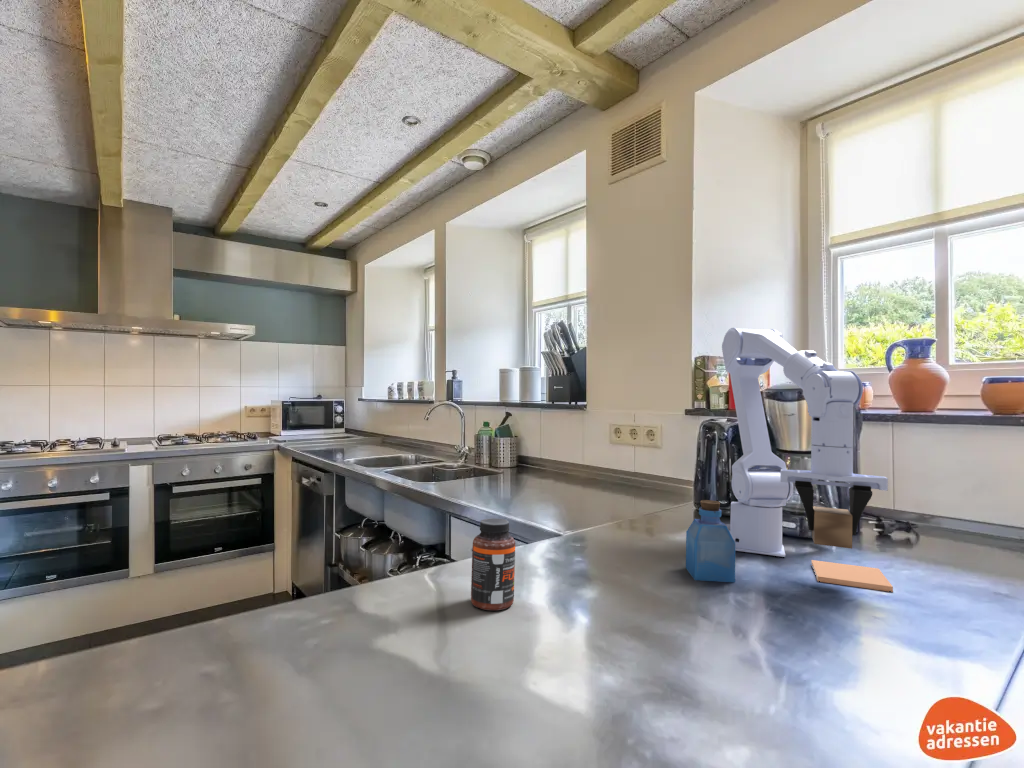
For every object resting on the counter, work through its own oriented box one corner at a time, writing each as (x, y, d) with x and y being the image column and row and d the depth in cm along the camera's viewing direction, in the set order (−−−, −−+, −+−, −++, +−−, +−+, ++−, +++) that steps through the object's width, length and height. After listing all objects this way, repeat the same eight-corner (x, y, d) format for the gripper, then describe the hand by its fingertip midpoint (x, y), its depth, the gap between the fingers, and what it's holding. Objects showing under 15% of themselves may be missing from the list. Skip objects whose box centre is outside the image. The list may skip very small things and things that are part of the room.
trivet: (817, 581, 85) (817, 576, 85) (811, 564, 94) (811, 559, 94) (892, 592, 80) (892, 586, 80) (878, 573, 89) (878, 568, 90)
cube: (814, 543, 82) (814, 511, 82) (811, 536, 87) (812, 506, 87) (852, 548, 80) (852, 515, 80) (847, 540, 85) (847, 509, 85)
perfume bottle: (723, 570, 89) (723, 499, 90) (734, 582, 83) (735, 506, 84) (685, 568, 90) (686, 497, 90) (694, 580, 84) (695, 504, 84)
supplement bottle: (509, 614, 69) (511, 527, 69) (465, 610, 70) (467, 524, 70) (517, 598, 74) (519, 517, 75) (477, 594, 76) (479, 515, 76)
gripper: (781, 444, 84) (780, 530, 83) (892, 450, 77) (892, 543, 77) (780, 442, 90) (779, 521, 89) (882, 447, 84) (882, 533, 83)
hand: (831, 531), depth 84 cm, fingers closed on cube, 5 cm apart
